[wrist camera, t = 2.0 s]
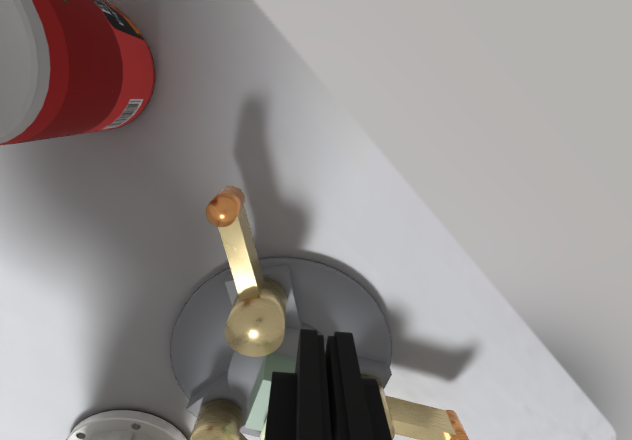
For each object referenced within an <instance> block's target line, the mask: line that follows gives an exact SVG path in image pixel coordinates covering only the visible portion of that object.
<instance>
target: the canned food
mask: <svg viewBox="0 0 632 440" xmlns="http://www.w3.org/2000/svg"><path fill="white" fill-rule="evenodd" d="M154 83H155V70H154V64H153V58H152V56H151V53H150V50H149V47H148V45H147V43H146V42H145V40H144V38H143V36H142V34H141V33H140V31H139V30H138V29H137V27H136V26H135V25H134V24H133V22H132V21H131V20H130V19H129V18H128V17H127V16H126V15H125V14H124V13H122V12H121V11H120V10H119V9H117V8H116V7H114V6H112V5H111V4H109V3H107V2H105V1H104V0H0V145H5V144H16V143H22V142H29V141H36V140H42V139H49V138H56V137H62V136H69V135H76V134H82V133H89V132H96V131H102V130H109V129H114V128H118V127H121V126H124V125H126V124H127V123H129V122H131V121H133V120H134V119H135V118H136V117H137V116H138V115H139V114H140V113H141V112H142V111H143V110H144V108H145V107H146V105H147V104H148V102H149V100H150V98H151V95H152V93H153V88H154Z"/></svg>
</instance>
